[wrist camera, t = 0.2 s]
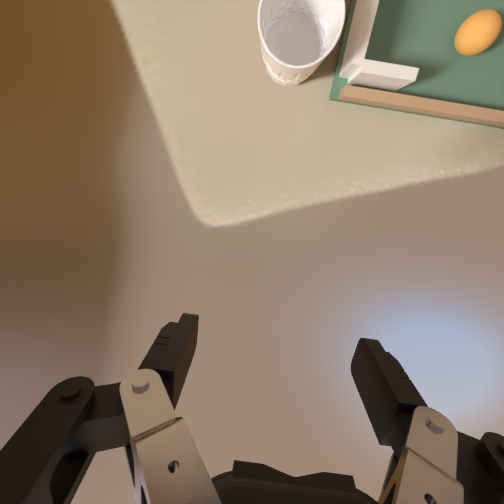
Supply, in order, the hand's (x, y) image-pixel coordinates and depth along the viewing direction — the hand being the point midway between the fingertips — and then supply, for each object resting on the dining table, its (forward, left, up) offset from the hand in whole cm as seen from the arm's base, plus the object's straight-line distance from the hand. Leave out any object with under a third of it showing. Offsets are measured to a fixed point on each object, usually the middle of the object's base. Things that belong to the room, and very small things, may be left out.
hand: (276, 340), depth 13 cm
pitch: (-24, +18, -29) cm, 42 cm away
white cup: (-20, -1, -29) cm, 36 cm away
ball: (-24, +19, -26) cm, 41 cm away
